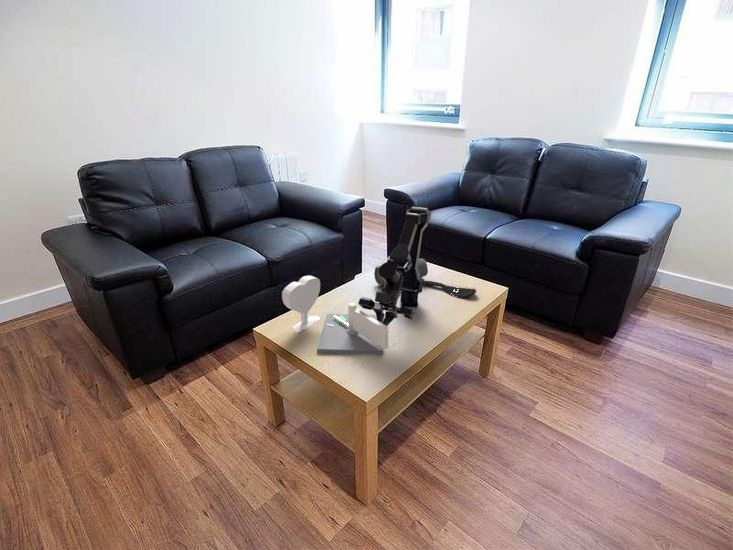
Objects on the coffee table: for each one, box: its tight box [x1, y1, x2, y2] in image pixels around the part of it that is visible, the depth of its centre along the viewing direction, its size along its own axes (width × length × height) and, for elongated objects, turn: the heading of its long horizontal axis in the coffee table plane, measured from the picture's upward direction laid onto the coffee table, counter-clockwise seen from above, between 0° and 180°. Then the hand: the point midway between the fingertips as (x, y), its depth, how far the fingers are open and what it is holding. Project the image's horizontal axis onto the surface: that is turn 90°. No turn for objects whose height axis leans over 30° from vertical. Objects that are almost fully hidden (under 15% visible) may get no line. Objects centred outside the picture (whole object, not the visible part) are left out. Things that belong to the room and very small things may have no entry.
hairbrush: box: [421, 280, 477, 299], centre depth 167 cm, size 8×4×25 cm
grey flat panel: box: [316, 313, 384, 355], centre depth 138 cm, size 22×22×2 cm
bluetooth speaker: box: [373, 258, 429, 286], centre depth 172 cm, size 23×9×10 cm, turn 113°
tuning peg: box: [333, 302, 389, 351], centre depth 133 cm, size 28×3×10 cm, turn 41°
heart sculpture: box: [281, 275, 321, 332], centre depth 140 cm, size 16×5×18 cm, turn 143°
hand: (379, 332), depth 127 cm, fingers closed
